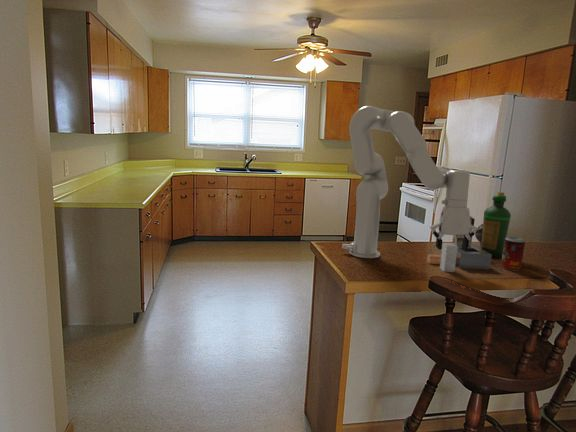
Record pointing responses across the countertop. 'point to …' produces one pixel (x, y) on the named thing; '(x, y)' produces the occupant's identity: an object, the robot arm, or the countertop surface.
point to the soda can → (513, 253)
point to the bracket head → (467, 258)
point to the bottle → (495, 226)
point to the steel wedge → (448, 257)
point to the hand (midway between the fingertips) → (451, 249)
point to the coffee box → (458, 238)
